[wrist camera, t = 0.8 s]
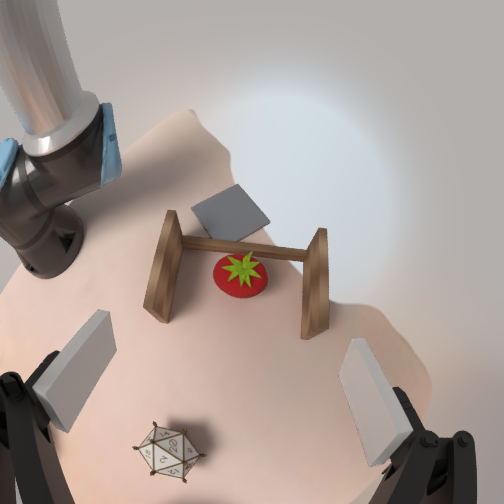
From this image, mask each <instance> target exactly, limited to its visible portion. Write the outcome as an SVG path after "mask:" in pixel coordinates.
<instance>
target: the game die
mask: <svg viewBox="0 0 504 504" xmlns="http://www.w3.org/2000/svg"><path fill="white" fill-rule="evenodd" d="M153 425H154V426H155V427H154V429H153V430H152V431H151V432H150V434H149V435H148V436H147V437H146V439H145V440H144V441H143V442H142V444H141V445H140V446H139V447H135V446H134V447H132V448H133V449H134V450H139V451H140V453H141V454H142V456H143V457H144V459H145V460H146V462H147V463H148V465H149V466H150V468H151V469H152V471H151V472H150V476H152V475H154V474H155V473H159V474H164V475H168V476H173V477H177V478H182V481H183V482H185V483H186V481H187V480H186V479H185V478H184V477H185V476H186V474H187V473H188V472H189V470H190V469H191V468H192V466H193V465H194V464H195V462H196V461H197V460H198V458H199V457H200V456H201V457H205V456H207V455H205V454H204V453H203V454H199V452H198V451H197V450H196V449H195V447H194V446H193V445H192V443H191V442H190V441H189V439H188V438H187V436H186V435H185V434H186V432H187V429H183V432H179V431H174V430H170V429H166V428H162V427H158V426H157V424H156V422H154V421H153Z"/></svg>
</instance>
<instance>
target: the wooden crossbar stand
mask: <svg viewBox="0 0 504 504" xmlns="http://www.w3.org/2000/svg"><path fill="white" fill-rule="evenodd" d="M327 241H328V240H327V229H325V228H318V230H317V232H316V234H315V236H314V237H313V239H312V241H311V243H310V245H309V246H308V248H307V250H302V249H294V248H286V247H278V246H269V245H261V244H253V243H244V242H236V241H227V240H219V239H210V238H202V237H193V236H184V235H182V231H181V228H180V224H179V220H178V217H177V213H176V211H175V210H168V211H167V214H166V217H165V221H164V224H163V228H162V231H161V235H160V238H159V242H158V246H157V249H156V253H155V257H154V261H153V265H152V269H151V273H150V277H149V282H148V286H147V290H146V295H145V300H144V304H143V307H144V308H145V309H146V310H147V311H148V312H149V313H150V314H151V315H153V316H154V317H155V318H156V319H157V320H158V321H159V322H162V323H167V324H168V320H169V314H170V308H171V303H172V298H173V293H174V287H175V282H176V277H177V273H178V268H179V263H180V259H181V254H182V250H183V248H190V249H198V250H207V251H215V252H224V253H232V254H242V255H248V254H249V253H250V252H251V251H252V254H251V256H257V257H266V258H274V259H283V260H291V261H300V262H303V300H302V325H301V339H308V340H309V339H310V338H312V337H314V336H316V335H318V334H320V333H322V332H323V331H325V330H327V329H329V269H328V242H327Z"/></svg>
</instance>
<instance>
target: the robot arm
mask: <svg viewBox="0 0 504 504" xmlns="http://www.w3.org/2000/svg"><path fill="white" fill-rule="evenodd" d="M0 85H1V87H2V89H3V91H4V93H5V95H6V97H7V99H8V101H9V102H10V104H11V106H12V108H13V110H14V111H15V113H16V115H17V117H18V118H19V120H20V122H21V123H22V125H23V127H24V129H25V132H24V136H23V141H22V145H18V142H17V140H14V139H13V138H8V139H5V140H4V141H2V142H1V143H0V236H1V237H2V238H3V239H4V240H5V241H7V242H8V243H9V244H10V245H11V246H12V247H13V248H14V249H15V250H16V252H17V254H18V256H19V258H20V260H21V262H22V263H23V265H24V267H25V268H26V269H27V270H28V271H29V272H30V273H31V274H33V275H34V276H36V277H37V278H40V279H49V278H53V277H55V276H57V275H59V274H60V273H62V272H63V271H64V270H65V269H66V268H67V267H68V266H69V265H70V264H71V263H72V261H73V260H74V259H75V257H76V255H77V253H78V251H79V249H80V246H81V243H82V238H83V227H82V223H81V220H80V218H79V217H78V216H77V214H76V213H75V212H74V210H73V209H71V208H70V207H69V206H67V205H65V204H64V203H66V202H68V201H71V200H73V199H75V198H77V197H80V196H82V195H84V194H87V193H89V192H91V191H94V190H96V189H100V188H102V187H103V186H104V185H106V184H108V183H110V182H112V181H114V180H116V179H117V178H118V177H119V176H120V175H121V173H122V163H121V157H120V152H119V147H118V141H117V136H116V129H115V123H114V116H113V109H112V105H111V103H102V104H99V101H98V99H97V97H96V95H95V94H94V93H92V92H89V91H83V90H82V89H81V86H80V83H79V80H78V77H77V74H76V71H75V68H74V65H73V62H72V58H71V55H70V51H69V48H68V45H67V41H66V37H65V34H64V30H63V26H62V22H61V17H60V13H59V9H58V4H57V0H0ZM116 351H117V349H116V344H115V339H114V334H113V329H112V323H111V317H110V312H109V311H104V310H99V309H98V310H97V311H96V312H95V313H94V314H93V316H92V317H91V318H90V319H89V320H88V321H87V322H86V323H85V324H84V326H83V327H82V328H81V329H80V330H79V331H78V332H77V333H76V335H75V336H74V337H73V338H72V339H71V340H70V341H69V343H68V344H67V345H66V346H65V347H64V348H63V350H62V351H61V352H59V351H57V350H56V351H54V352H52V353H51V354H49V355H48V356H47V357H46V358H45V359H44V360H43V363H41V364H40V365H39V366H38V368H37V369H36V370H35V371H34V372H33V374H32V375H31V376H30V377H29V378H28V380H27V381H26V382H25V383H23V381H22V379H21V377H20V375H19V374H18V373H16V372H6V373H4V374H3V375H1V376H0V504H16V491H15V477H16V482H17V485H18V489H19V493H20V496H21V499H22V503H23V504H75V502H74V500H73V498H72V495H71V493H70V490H69V488H68V485H67V483H66V480H65V477H64V474H63V472H62V469H61V466H60V463H59V459H58V456H57V453H56V450H55V446H54V442H53V439H52V435H51V431H50V428H49V425H48V424H49V422H50V420H51V421H52V423H53V424H54V426H55V427H56V428H58V429H60V430H62V431H64V432H66V433H69V431H70V429H71V427H72V425H73V424H74V422H75V420H76V418H77V416H78V415H79V413H80V411H81V409H82V408H83V406H84V404H85V402H86V401H87V399H88V397H89V395H90V394H91V392H92V390H93V389H94V387H95V385H96V384H97V382H98V380H99V379H100V377H101V375H102V374H103V372H104V370H105V369H106V367H107V366H108V364H109V362H110V361H111V359H112V358H113V356H114V354H115V353H116ZM338 375H339V378H340V381H341V384H342V387H343V389H344V392H345V395H346V398H347V401H348V404H349V407H350V410H351V413H352V415H353V418H354V421H355V424H356V427H357V431H358V434H359V437H360V440H361V443H362V446H363V449H364V452H365V455H366V459H367V462H368V465H369V467H371V466H376V465H381V464H384V463H385V462H386V461H387V460H388V459H389V458H390V459H391V462H392V463H391V464H390V465H389V466H388V467H387V468H386V469H385V470H384V471H383V472H382V474H384V473H385V472H386V473H385V475H384V477H383V479H382V481H381V483H380V484H379V486H378V488H377V490H376V492H375V494H374V495H373V497H372V499H371V500H370V502H369V504H477V468H476V455H475V443H474V439H473V437H472V435H471V434H470V433H468V432H466V431H458V432H457V433H456V434H455V435H454V436H453V437H452V438H439V437H438V436H437V435H436V434H435V433H434V432H432V431H428V430H425V428H424V427H423V425H422V423H421V421H420V419H419V417H418V415H417V413H416V411H415V409H414V408H413V406H412V404H411V402H410V400H409V398H408V397H407V395H406V393H405V392H404V391H403V390H402V389H400V388H399V387H393V388H392V387H391V385H390V383H389V381H388V379H387V378H386V376H385V374H384V372H383V370H382V368H381V367H380V365H379V363H378V361H377V359H376V357H375V356H374V354H373V352H372V350H371V349H370V347H369V345H368V343H367V341H366V340H365V338H352V339H351V342H350V345H349V348H348V350H347V353H346V356H345V358H344V361H343V364H342V366H341V369H340V371H339V374H338Z"/></svg>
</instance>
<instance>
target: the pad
mask: <svg viewBox="0 0 504 504" xmlns="http://www.w3.org/2000/svg"><path fill="white" fill-rule="evenodd" d="M191 210H192V211H193V212H194V214H195V215H196V217H197V218H198V220H199V221H200V222H201V224H202V225H203V227H204V228H205V229H206V231H207V232H208V234H209V235H210V236H211V238H212V239H219V240H227V241H236V242H239V241H240V240H242V239H244V238H245V237H247V236H249V235H250V234H252V233H254V232H256V231H257V230H259V229H261V228H263V227H264V226H266V225H268V224H269V223H270V220H269V219H268V218H267V217H266V215H265V214H264V213H263V212H262V211H261V210H260V208H259V207H258V206H257V205H256V204H255V203H254V202H253V200H252V199H251V198H250V197H249V196H248V195H247V194H246V192H245V191H244V190H243V189H242V188H241V187H240V186H239V185H238V184H236V185H234V186H232V187H230V188H228V189H226V190H224V191H222V192H220V193H218V194H216V195H214V196H212V197H210V198H208V199H207V200H205V201H203V202H201V203H199V204H197V205H195V206H193V207H191Z"/></svg>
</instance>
